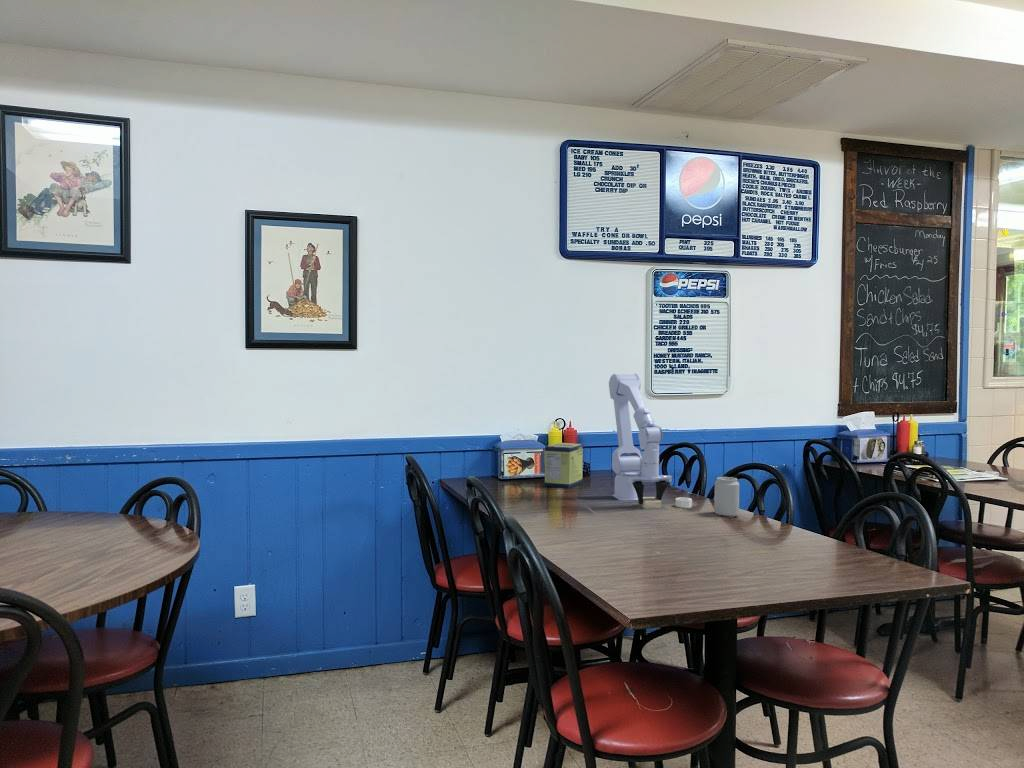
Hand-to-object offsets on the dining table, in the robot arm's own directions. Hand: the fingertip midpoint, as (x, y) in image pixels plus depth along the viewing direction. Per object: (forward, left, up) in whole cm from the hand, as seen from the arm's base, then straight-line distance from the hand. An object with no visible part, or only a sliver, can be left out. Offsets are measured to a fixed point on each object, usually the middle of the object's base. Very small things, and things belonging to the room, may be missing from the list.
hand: (649, 503), depth 249 cm
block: (0, 0, -1) cm, 1 cm away
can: (+14, +21, -2) cm, 25 cm away
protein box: (-49, -17, -2) cm, 52 cm away
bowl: (+1, +12, -2) cm, 12 cm away
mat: (-1, 0, -2) cm, 2 cm away
